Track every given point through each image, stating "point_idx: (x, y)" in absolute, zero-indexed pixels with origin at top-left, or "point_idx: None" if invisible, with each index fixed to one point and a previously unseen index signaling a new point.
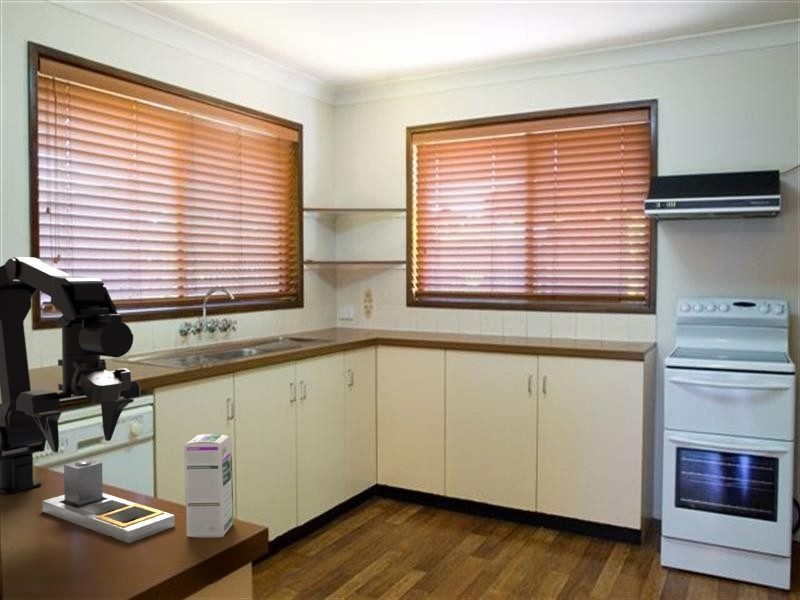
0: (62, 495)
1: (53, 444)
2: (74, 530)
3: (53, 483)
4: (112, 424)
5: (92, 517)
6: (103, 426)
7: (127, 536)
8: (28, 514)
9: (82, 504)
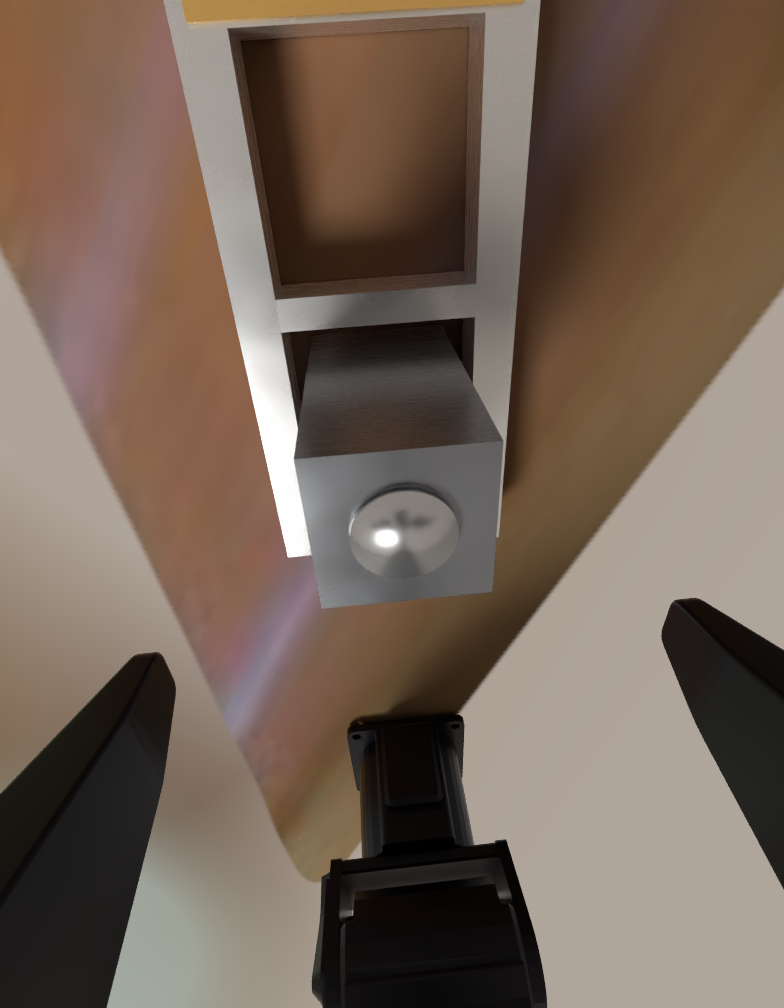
0: None
1: (779, 653)
2: (568, 135)
3: (309, 725)
4: (40, 817)
5: (525, 42)
6: (142, 844)
7: None
8: (533, 516)
9: (429, 345)
